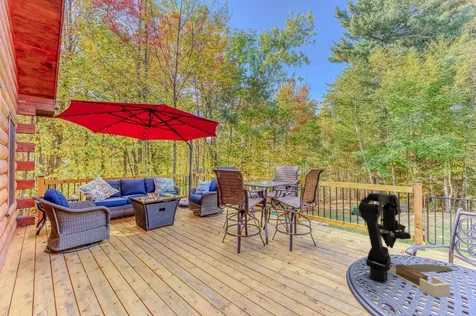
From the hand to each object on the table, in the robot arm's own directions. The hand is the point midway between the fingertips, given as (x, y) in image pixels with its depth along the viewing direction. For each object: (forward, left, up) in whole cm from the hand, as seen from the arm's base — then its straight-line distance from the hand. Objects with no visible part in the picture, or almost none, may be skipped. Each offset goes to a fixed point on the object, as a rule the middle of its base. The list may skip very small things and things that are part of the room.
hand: (389, 247), depth 112 cm
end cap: (0, -21, -11) cm, 24 cm away
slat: (0, -11, -11) cm, 16 cm away
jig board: (0, -11, -12) cm, 16 cm away
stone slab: (+22, -2, -13) cm, 26 cm away
